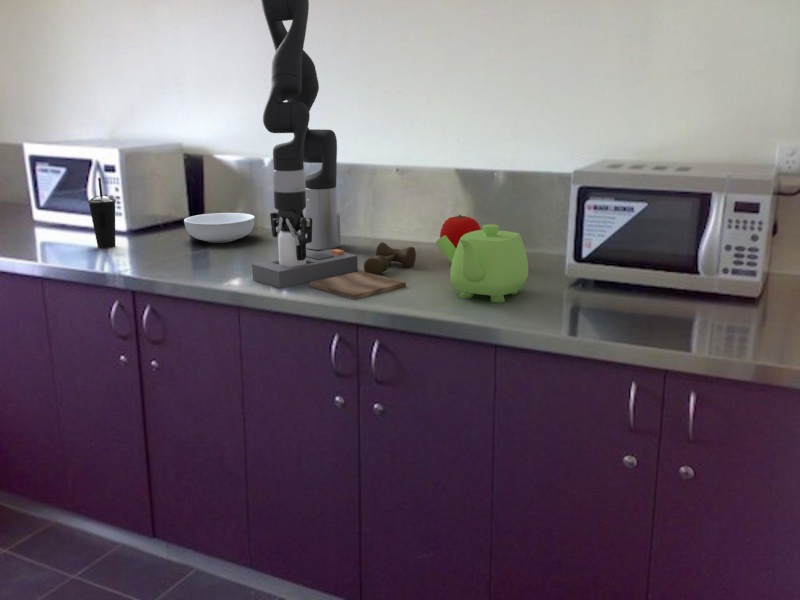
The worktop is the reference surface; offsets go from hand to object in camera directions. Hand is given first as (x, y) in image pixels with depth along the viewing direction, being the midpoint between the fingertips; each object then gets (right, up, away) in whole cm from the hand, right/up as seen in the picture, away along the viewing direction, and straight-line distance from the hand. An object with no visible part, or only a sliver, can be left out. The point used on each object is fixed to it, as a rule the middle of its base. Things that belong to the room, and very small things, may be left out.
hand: (292, 257), depth 191 cm
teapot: (+43, -9, -14) cm, 46 cm away
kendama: (+23, -3, +11) cm, 26 cm away
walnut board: (+16, -7, -6) cm, 19 cm away
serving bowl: (-28, +8, +48) cm, 56 cm away
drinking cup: (-59, +5, +39) cm, 71 cm away
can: (0, -5, +1) cm, 5 cm away
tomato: (+42, -1, +16) cm, 45 cm away
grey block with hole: (+3, -4, +4) cm, 7 cm away
